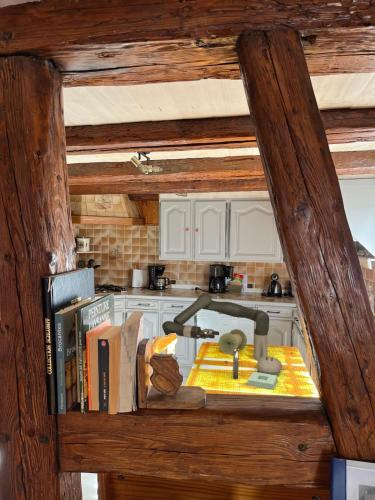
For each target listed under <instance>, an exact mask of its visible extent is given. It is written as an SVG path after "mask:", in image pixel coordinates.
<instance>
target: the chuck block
mask: <svg viewBox="0 0 375 500" xmlns="http://www.w3.org/2000/svg"><path fill="white" fill-rule="evenodd" d="M277 382H278V376H276V375H270V374H264V373H259V371H258V372H257V371H252V373H251V374H250V376H249V377H248V379H247V386H250V387H255V388H259V389H260V388H261V389H266V390H271V391H274V389H275V387H276V384H277Z"/></svg>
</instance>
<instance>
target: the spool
mask: <svg viewBox="0 0 375 500" xmlns="http://www.w3.org/2000/svg"><path fill="white" fill-rule="evenodd" d="M247 343H248V339H247V335H246V334H245V332H244V331H242V330H241V329H237V328H235V329H232V330H230V332H226V333H223V334H221V336H220V337H219V340H218V346H219V349H220V350H221V352H222V353H224V354H225V355H228V356H229V355H230V356H232V355H233V350H234V349H235V348H236V347H239V349H240V350H243V349H244V348H245V347H246V345H247Z"/></svg>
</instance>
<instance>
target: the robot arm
mask: <svg viewBox="0 0 375 500" xmlns="http://www.w3.org/2000/svg"><path fill="white" fill-rule="evenodd" d="M200 310H206V311H211V312H216V313H219V314H222V315H226V316H230V317H233V318H241V319H242V318H243V319H248V320H251V321H253V322H255V329H254V330H253V335H254V337H253V359H254V360H255V361H258V360H259V359H261V358H262V357H268V339H269V335H268V334H269V330H270V329H269V328H270V316H269V314H268V313H267V312H265V311H264V310H261V309H254V308H249V307H247V306H245V305H244V306H243V305H241V304H238V303H235V302H231V301H216V300H213V299H212V296H211V295H210V294H208V293H205V292H204V293H201V294H200V295H199V296H198V297H197V298H196V299H195V300H194V301H193V303H192V304H191V305H189V306H187V308H185V309H184V310H183V311H181V312H180V313H179V314H177V315H176V316H175V317H174V318H173V321H171V320H167V321H164V322H162V324H161V325H162V326H161V329H162V330H163V333H164V335H165V336H166V335H168V334H170V333H176V334H175V335H176V336H178V337H183V338H190V339H194V340H195V339H197V340H199V339H202V340H203V339H204V340H206V339H213V340H214V339H215V337H216V336H219V335H220V331H218V330H217V331H216V330H214V329H211V328H204V329H202V328H201V327H200V326H198V325H196V326H195V325H185V324H186V323H187V322H188V321H189V320H190V319H192V318H193V317H194V315H195V314H197V313H198V312H199V311H200Z"/></svg>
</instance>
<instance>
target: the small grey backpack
mask: <svg viewBox="0 0 375 500" xmlns="http://www.w3.org/2000/svg"><path fill="white" fill-rule="evenodd" d="M256 365H257V370H258V373H264V374H270V375H276V376H277V377H278V376H279V375H280V373H281V369H282V367H283V365H282V361H281V360H279V359H278V358H277V357H275V356H274V357H273V356H267V357H262V358H261V359H259V360H257V362H256Z"/></svg>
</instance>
